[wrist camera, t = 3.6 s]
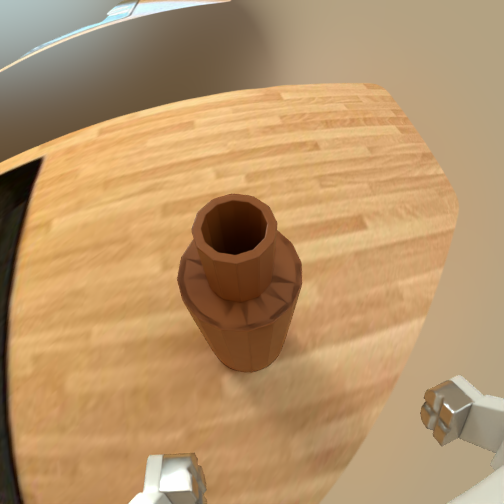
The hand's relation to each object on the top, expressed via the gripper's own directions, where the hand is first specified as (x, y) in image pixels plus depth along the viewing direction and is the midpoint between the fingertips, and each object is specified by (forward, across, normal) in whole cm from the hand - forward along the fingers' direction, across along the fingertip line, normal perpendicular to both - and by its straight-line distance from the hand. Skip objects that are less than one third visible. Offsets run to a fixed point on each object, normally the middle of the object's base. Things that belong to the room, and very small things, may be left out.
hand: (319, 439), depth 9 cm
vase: (+18, +1, +6) cm, 19 cm away
